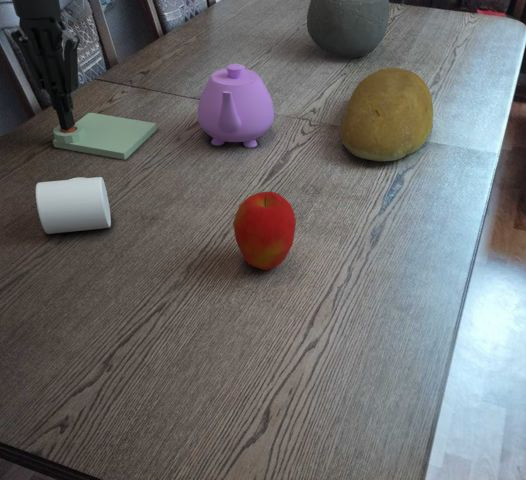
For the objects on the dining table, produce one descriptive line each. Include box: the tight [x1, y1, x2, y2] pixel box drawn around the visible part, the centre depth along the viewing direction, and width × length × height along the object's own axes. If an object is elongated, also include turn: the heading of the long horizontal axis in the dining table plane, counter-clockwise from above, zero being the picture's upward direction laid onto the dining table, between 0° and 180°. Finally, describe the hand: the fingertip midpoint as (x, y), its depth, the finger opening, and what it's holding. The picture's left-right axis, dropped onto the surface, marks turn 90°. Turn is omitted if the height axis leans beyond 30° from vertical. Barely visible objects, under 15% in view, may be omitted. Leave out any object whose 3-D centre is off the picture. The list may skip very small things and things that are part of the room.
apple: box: [232, 191, 297, 271], centre depth 80 cm, size 9×9×12 cm
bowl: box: [306, 0, 390, 59], centre depth 144 cm, size 21×21×15 cm
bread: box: [340, 67, 434, 162], centre depth 113 cm, size 18×35×10 cm, turn 167°
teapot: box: [197, 63, 275, 148], centre depth 109 cm, size 22×16×14 cm
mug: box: [35, 176, 112, 235], centre depth 90 cm, size 12×10×8 cm
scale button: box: [61, 126, 76, 133], centre depth 110 cm, size 3×3×2 cm
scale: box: [52, 112, 158, 161], centre depth 112 cm, size 16×14×3 cm
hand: (68, 126), depth 109 cm, fingers closed
